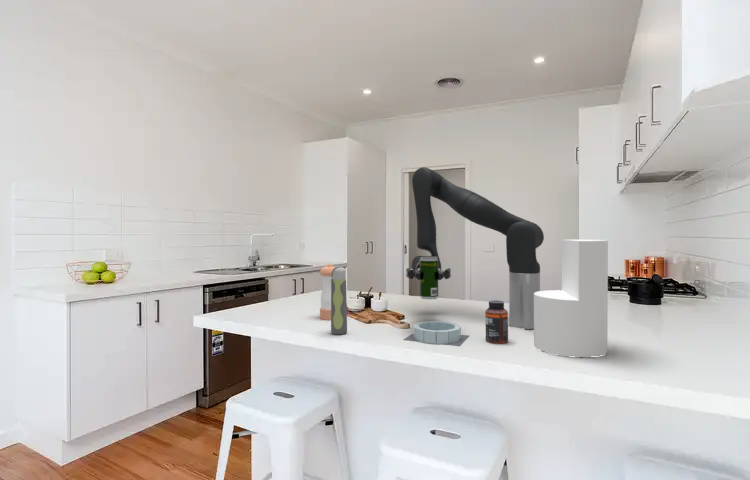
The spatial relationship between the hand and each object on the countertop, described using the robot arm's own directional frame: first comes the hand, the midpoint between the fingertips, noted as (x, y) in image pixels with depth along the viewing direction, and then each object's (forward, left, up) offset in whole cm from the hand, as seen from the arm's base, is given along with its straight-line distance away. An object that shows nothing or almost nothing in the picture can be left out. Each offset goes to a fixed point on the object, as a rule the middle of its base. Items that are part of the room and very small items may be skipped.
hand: (429, 276), depth 119 cm
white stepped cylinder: (-36, -5, -18) cm, 41 cm away
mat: (-2, 0, -18) cm, 18 cm away
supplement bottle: (-18, -3, -18) cm, 26 cm away
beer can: (+1, -2, -7) cm, 7 cm away
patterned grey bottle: (+27, +5, -18) cm, 33 cm away
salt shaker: (+41, -13, -18) cm, 47 cm away
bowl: (-2, 0, -17) cm, 17 cm away
